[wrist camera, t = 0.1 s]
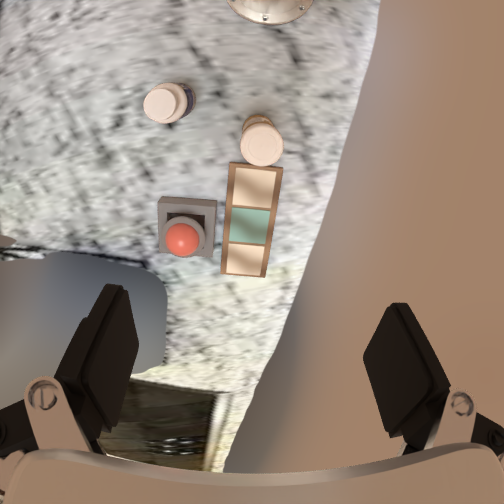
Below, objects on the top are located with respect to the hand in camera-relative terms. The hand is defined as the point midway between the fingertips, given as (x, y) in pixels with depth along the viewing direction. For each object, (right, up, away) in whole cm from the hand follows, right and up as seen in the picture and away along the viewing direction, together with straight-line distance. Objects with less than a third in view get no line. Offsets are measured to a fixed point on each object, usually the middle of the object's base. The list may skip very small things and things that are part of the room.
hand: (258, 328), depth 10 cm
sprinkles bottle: (+1, +21, +31) cm, 37 cm away
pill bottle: (-11, +25, +28) cm, 39 cm away
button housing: (-11, +7, +38) cm, 40 cm away
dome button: (-11, +6, +36) cm, 38 cm away
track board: (-1, +7, +39) cm, 39 cm away
